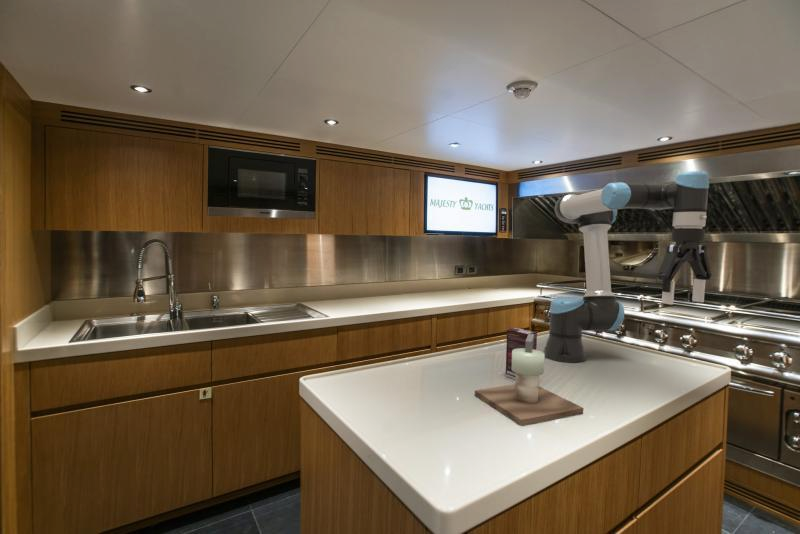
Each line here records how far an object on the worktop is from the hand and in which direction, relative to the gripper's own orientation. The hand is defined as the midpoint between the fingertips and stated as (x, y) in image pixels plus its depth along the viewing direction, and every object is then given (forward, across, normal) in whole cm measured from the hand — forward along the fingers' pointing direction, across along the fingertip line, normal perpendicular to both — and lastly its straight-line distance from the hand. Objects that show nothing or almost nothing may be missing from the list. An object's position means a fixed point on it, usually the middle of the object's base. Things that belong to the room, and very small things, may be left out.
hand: (682, 302), depth 112 cm
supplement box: (+28, -33, +28) cm, 52 cm away
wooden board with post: (+28, -45, +12) cm, 54 cm away
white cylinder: (+18, -43, +14) cm, 48 cm away
